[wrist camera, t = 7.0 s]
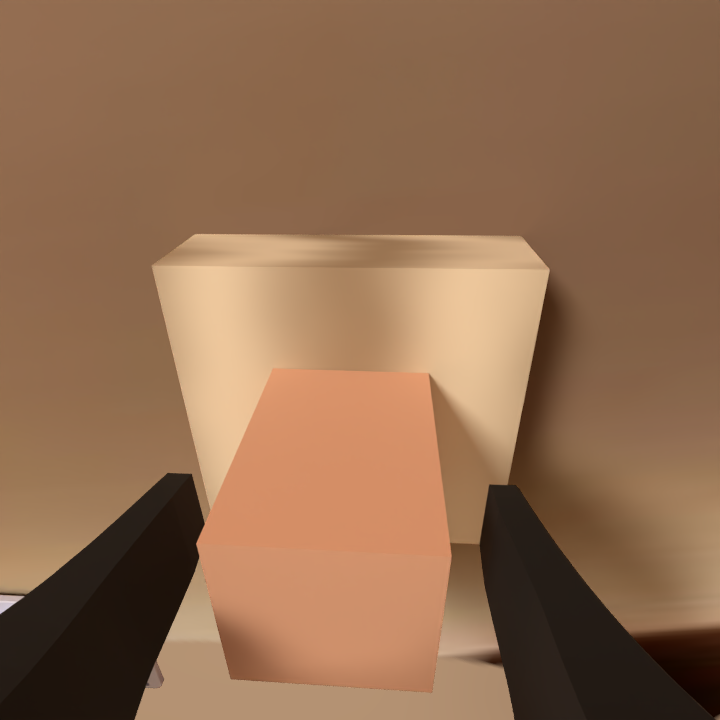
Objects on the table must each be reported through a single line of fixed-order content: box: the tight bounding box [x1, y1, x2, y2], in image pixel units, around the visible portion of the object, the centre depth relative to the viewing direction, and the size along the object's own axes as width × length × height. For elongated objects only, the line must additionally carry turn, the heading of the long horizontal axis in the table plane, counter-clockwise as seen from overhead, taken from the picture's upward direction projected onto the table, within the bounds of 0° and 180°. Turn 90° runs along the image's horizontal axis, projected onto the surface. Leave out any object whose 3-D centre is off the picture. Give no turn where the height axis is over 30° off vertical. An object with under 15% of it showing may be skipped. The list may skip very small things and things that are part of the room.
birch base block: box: [152, 234, 550, 544], centre depth 16 cm, size 10×10×4 cm
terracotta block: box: [196, 368, 452, 693], centre depth 12 cm, size 4×4×6 cm
